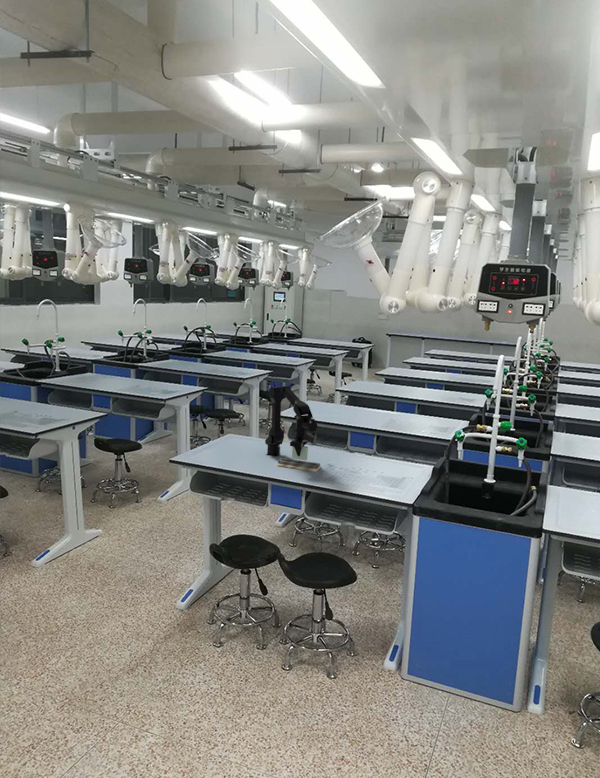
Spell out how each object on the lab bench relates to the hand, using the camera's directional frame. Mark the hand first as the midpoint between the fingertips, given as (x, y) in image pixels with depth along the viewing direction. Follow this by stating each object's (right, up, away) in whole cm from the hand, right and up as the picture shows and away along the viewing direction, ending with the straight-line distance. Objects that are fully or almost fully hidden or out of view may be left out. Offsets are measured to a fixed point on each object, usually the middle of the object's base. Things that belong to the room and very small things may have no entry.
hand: (299, 455), depth 311 cm
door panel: (0, -2, 0) cm, 2 cm away
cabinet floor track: (0, -6, +1) cm, 6 cm away
